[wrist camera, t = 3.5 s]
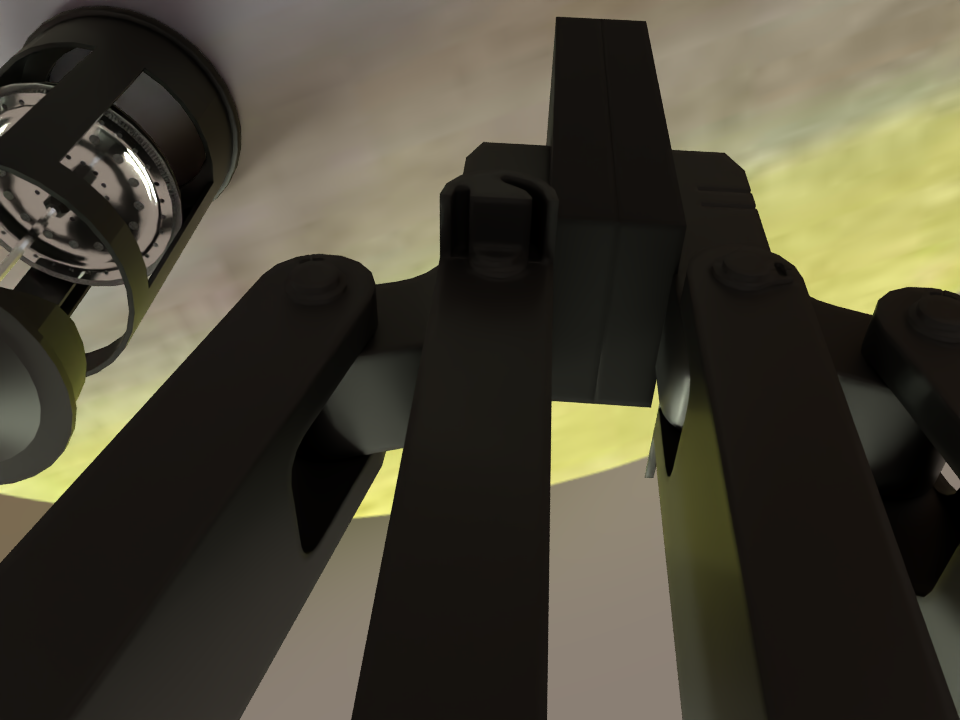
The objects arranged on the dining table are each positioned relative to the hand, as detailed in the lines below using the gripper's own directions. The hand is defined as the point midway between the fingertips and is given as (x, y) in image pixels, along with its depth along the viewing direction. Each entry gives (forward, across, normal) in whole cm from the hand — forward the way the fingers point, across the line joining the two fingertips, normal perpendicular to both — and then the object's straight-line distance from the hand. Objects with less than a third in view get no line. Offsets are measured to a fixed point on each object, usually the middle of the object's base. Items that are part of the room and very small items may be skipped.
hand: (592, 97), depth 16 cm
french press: (+20, -18, -11) cm, 29 cm away
